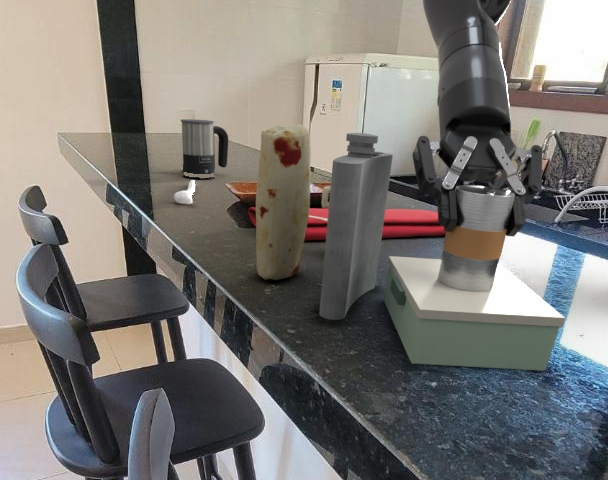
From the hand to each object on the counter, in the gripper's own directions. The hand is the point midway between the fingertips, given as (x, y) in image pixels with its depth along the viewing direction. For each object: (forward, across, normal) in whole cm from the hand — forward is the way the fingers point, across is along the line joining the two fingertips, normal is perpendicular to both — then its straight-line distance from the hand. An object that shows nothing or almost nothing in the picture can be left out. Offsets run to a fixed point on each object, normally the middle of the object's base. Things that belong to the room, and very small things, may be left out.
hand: (482, 229), depth 55 cm
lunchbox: (+8, 0, +10) cm, 12 cm away
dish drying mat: (-27, -6, +45) cm, 53 cm away
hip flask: (+1, -12, +16) cm, 20 cm away
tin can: (+3, 0, +6) cm, 7 cm away
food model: (-4, -21, +22) cm, 31 cm away
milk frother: (-67, -47, +85) cm, 118 cm away
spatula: (-46, -44, +63) cm, 90 cm away
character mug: (-13, -10, +30) cm, 35 cm away
